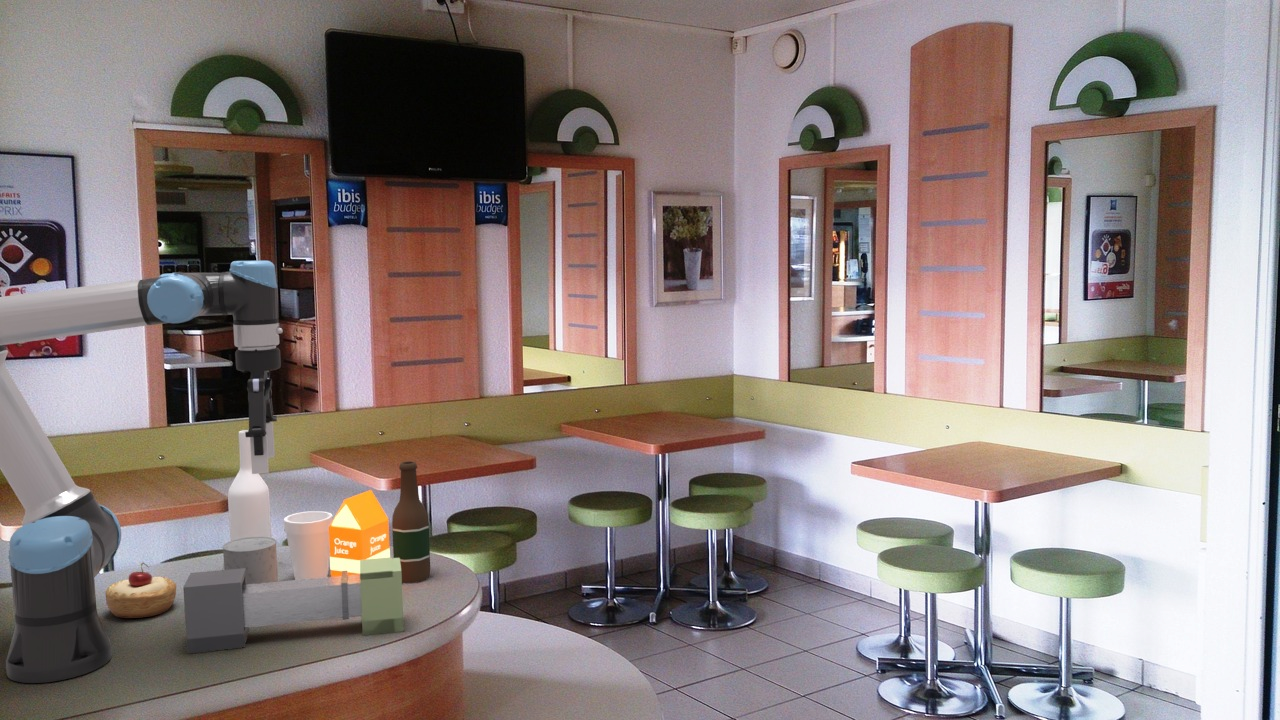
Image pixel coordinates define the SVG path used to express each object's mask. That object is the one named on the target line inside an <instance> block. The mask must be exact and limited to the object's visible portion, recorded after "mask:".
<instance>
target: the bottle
mask: <svg viewBox="0 0 1280 720" xmlns="http://www.w3.org/2000/svg"><path fill="white" fill-rule="evenodd" d="M248 430H249V429H247V430H246V429H242V430H240V431H238V447H239V471H238V472H237V474H236V476H235V477H234V479H233V481H232V483H231V485H230V486H229V488H228V490H227V491H228V492H227V504H228V505H227V506H228V507H227V508H228V520H229V521H228V523H229V525H228V526H229V542H230V541H233V540H236V539H241V538H247V537H270V538H273V537H272V535H273V534H272V519H271V518H272V517H271V516H272V515H271V501H270V489H269V486H268V485H267V483H266V481H265V480H264V479H263V477H262V476H261V474H252V464H251V446H250V437H246V435H245V432H248Z"/></svg>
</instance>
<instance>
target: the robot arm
mask: <svg viewBox="0 0 1280 720" xmlns="http://www.w3.org/2000/svg"><path fill="white" fill-rule="evenodd" d="M229 315H230V316H231V315H232V317H233V344H234V347H237V349H236V351H235V353H234V355H235V356H234V357H235V367H236V371H240V372H249V373H250V378H248V380H247V381H246V390H247V400H248V429H247V430H248V432H245V435H246V437H250V446H251V464H252V474H259V475H261V474H269V472H270V470H269V469H270V468H269V459H270V458H271V459H273V458H275V457H276V456H275V455H276V454H275V451H276V450H275V435H274V422H277V421H278V420H277V417H278V416H277V415H274V414H275V413H274V410H273V409H274V407H273V399H272V396H273V395H272V394H273V391H272V388H273V380H272V378H270V377H271V376H270V375H271V371H276V370H278V369H280V368H281V366H282V361H281V360H282V359H281V350H280V348H279V347H277V346H278V345H279V344H280V335H279V334H283V333H284V332H283V328H281V327H279V300H278V284H277V276H276V267H275V264H274V263H273V262H271V260H234V261H232V262H231V263H230V268H229V271H222V272H182V271H178V272H172V273H162V274H160V275H159V276H158V277H150V278H143V279H133V280H127V281H119V282H111V283H109V282H108V283H103V284H94V285H93V284H92V285H88V286H87V285H86V286H85V285H84V286H78V287H76V286H75V287H70V288H61V289H54V290H47V291H38V292H31V293H30V292H29V293H22V294H13V295H6V296H5V295H4V296H0V471H1V472H2V475H3V476H4V477H5V479H6V481H7V483H8V484H9V486H10V487H11V489H12V490H13V492H14V494H15V497H17V499H18V501H19V502H20V504H21V505H22V507H23V509H24V511H25V512H24V515H23V518H22V521H21V527H19V528H18V529H16V530H15V531H14V532H13V533H12V534H11V536H10V538H9V549H8V560H9V561H8V562H9V565H10V575H11V586H12V600H13V609H14V610H13V611H14V622H15V628H14V631H13V633H12V638H11V642H10V645H9V648H8V653H7V656H6V659H5V669H6V676H7V678H8V679H10V680H12V681H13V682H19V683H25V684H40V683H51V682H58V681H63V680H68V679H72V678H76V677H80V676H83V675H86V674H88V673H90V672H93V671H95V670H97V669H99V668H101V667H103V666H104V665H106V664H107V663H108V662H110V660H111V659H112V656H113V653H112V643H111V640H110V638H109V635H108V633H107V630H105V626H104V625H103V622H102V621H101V619H100V616H99V614H98V611H97V610H98V609H97V596H96V595H97V594H96V582H95V577H96V576H97V575H98V574H99V573H100V572H101V571H102V570H103V569H105V568H106V566H107V565H109V563H111V562H112V561H113V559H114V557H115V556H116V554H117V551H118V549H119V548H120V544H121V541H122V528H121V524H120V521H119V519H118V518H117V516H116V514H114V513H115V512H114V513H113V511H111V509H109V508H108V507H106V506H104V505H102V504H99V503H98V502H97V499H96V498H95V496H94V494H93V492H92V491H91V490H90V489H89V488H87V487H82V486H79V485H77V484H76V483H75V482H74V479H73V478H72V476H71V474H70V473H69V471H68V470H67V468H66V465H64V463H63V461H62V460H61V458H60V456H59V454H58V453H57V450H56V449H55V448H54V445H53V444H52V442H51V441H50V439H49V438H48V436H47V434H46V433H45V431H44V429H43V428H42V426H41V424H40V422H39V421H38V419H37V417H36V416H35V414H34V412H33V411H32V409H31V408H30V405H29V404H28V402H27V400H26V399H25V397H24V395H23V394H22V392H21V391H20V389H19V387H18V385H17V384H16V382H15V381H14V379H13V377H12V375H11V373H10V372H9V370H8V369H7V367H6V365H5V362H6V358H7V355H8V353H9V351H8V349H7V347H6V346H5V345H13V344H20V343H28V342H34V341H43V340H50V339H56V338H65V337H72V336H80V335H86V334H94V333H95V334H96V333H101V332H102V333H103V332H109V331H117V330H124V329H125V330H126V329H132V328H138V327H146V326H155V325H163V324H181V323H186V322H188V321H189V322H190V321H191V320H193V319H194V318H196V317H202V316H205V317H206V316H208V317H209V316H229Z"/></svg>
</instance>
